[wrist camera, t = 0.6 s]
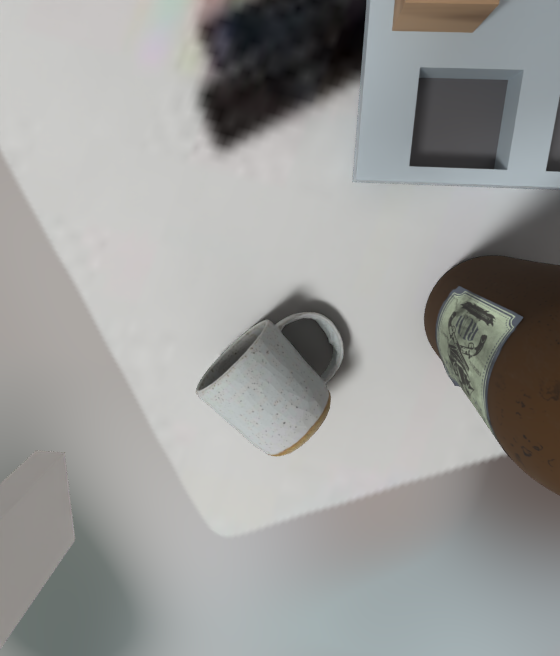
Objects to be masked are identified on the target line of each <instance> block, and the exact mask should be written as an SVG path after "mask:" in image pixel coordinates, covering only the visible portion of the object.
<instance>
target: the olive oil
mask: <svg viewBox="0 0 560 656" xmlns="http://www.w3.org/2000/svg"><path fill="white" fill-rule="evenodd" d="M424 324H425V331H426V335H427V338H428V340H429V343H430V344H431V346H432V348H433V349H434V351H435V352H436V354H437V355H438V356H439V358H440V359H441V360H442V362H443V365H444V368H445V370H446V372H447V374H448V376H449V377H450V379H451V380H452V382H453V383H454V385H455V386H460V387H461V388H462V390H463V391H464V392H465V394H466V395H467V397H468V398H469V400H470V401H471V402H472V404H473V405H474V407H475V408H476V410H477V411H478V413H479V414H480V416H481V417H482V419H483V420H484V422H485V423H486V425H487V426H488V428H489V429H490V431H491V432H492V434H493V435H494V436H495V438H496V439H497V441H498V442H499V444H500V445H501V447H502V448H503V450H504V451H505V452H506V454H507V455H508V456H509V457H510V458H511V459H512V460H513V461H514V462H515V463H516V464H517V465H518V466H519V467H520V468H521V469H522V470H523V471H524V472H525V473H526V474H528V475H529V476H530V477H531V478H533V479H534V480H535V481H537V482H538V483H540V484H541V485H543V486H544V487H546V488H547V489H549V490H551V491H552V492H554V493H556V494H558V495H560V265H553V264H546V263H539V262H533V261H527V260H522V259H516V258H511V257H505V256H482V257H477V258H473V259H470V260H467V261H465V262H463V263H461V264H459V265H457V266H455V267H454V268H452V269H451V270H450V271H448V272H447V273H446V274H445V275H444V276H443V277H442V278H441V279H440V280H439V281H438V283H437V284H436V285H435V287H434V288H433V290H432V292H431V294H430V296H429V298H428V301H427V304H426V308H425V315H424Z"/></svg>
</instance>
